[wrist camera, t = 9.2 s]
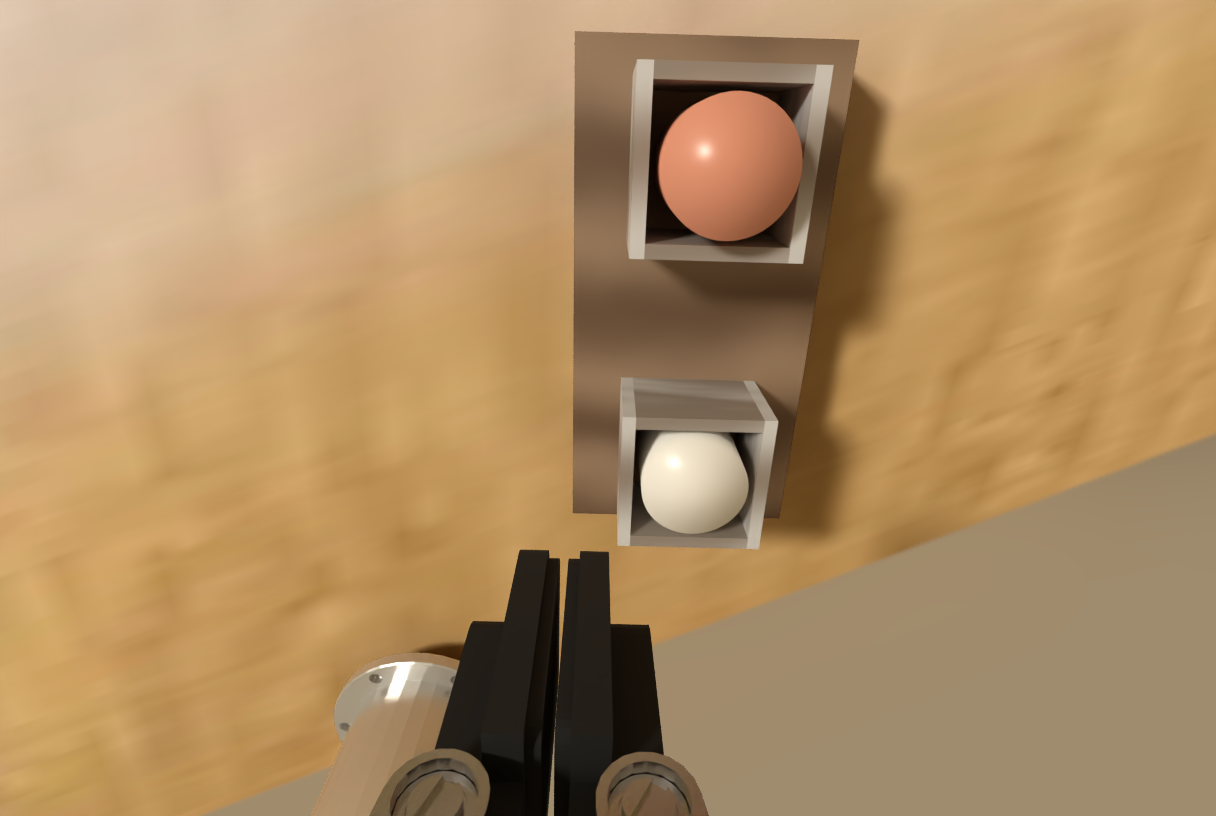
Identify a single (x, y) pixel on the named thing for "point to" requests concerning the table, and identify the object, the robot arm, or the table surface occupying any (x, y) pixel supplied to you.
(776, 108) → the plunger salmon pink
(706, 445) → the plunger white
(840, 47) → the button box
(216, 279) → the table surface
